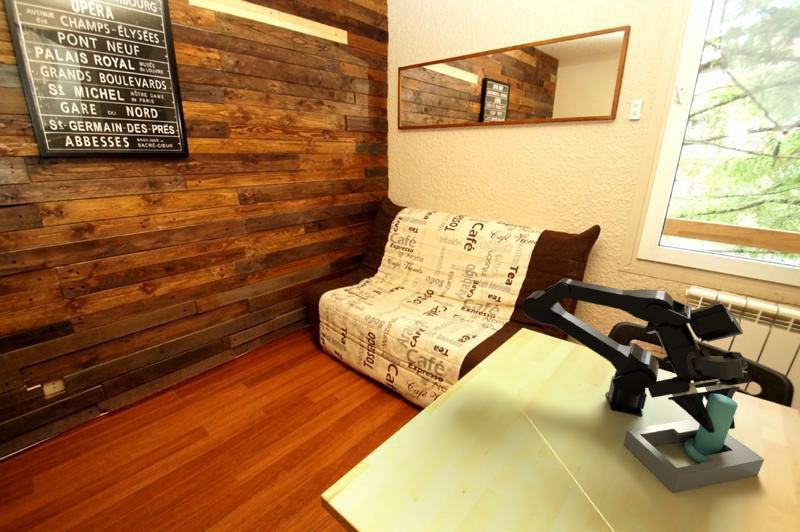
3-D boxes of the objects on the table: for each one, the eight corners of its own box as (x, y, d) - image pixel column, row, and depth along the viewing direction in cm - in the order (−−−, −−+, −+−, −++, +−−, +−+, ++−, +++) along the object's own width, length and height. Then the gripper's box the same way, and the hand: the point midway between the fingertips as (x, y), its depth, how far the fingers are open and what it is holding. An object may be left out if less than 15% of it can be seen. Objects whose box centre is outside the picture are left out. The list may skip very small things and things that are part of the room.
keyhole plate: (672, 493, 62) (677, 476, 61) (623, 444, 72) (627, 429, 71) (757, 474, 66) (764, 459, 64) (699, 431, 76) (704, 416, 75)
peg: (676, 448, 71) (693, 395, 67) (694, 438, 74) (712, 386, 70) (714, 473, 66) (735, 417, 62) (732, 461, 68) (753, 406, 64)
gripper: (675, 342, 64) (721, 436, 57) (756, 333, 68) (809, 420, 61) (632, 356, 74) (667, 438, 67) (704, 347, 77) (745, 424, 71)
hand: (721, 430), depth 66 cm, fingers open, 4 cm apart
